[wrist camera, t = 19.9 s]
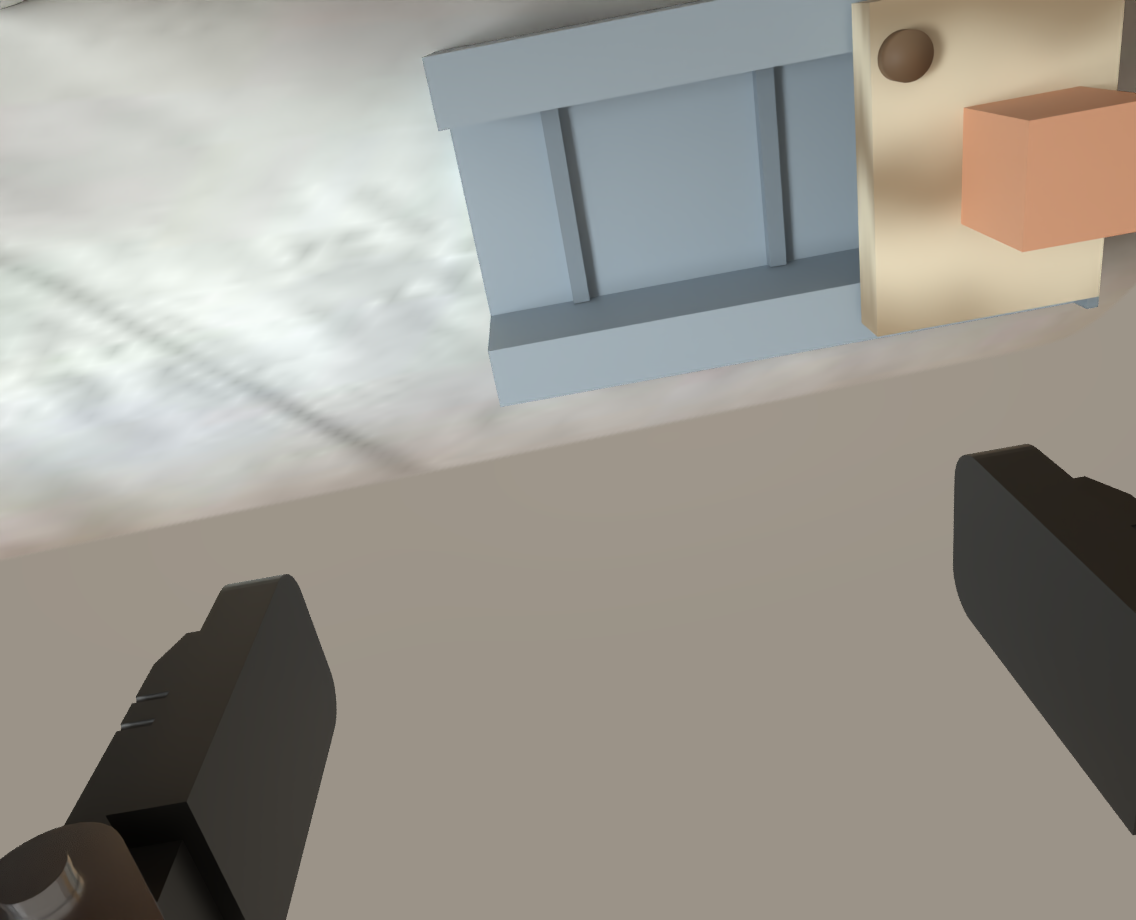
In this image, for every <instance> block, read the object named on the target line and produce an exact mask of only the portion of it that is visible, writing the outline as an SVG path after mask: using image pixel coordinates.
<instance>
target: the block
mask: <svg viewBox="0 0 1136 920" xmlns="http://www.w3.org/2000/svg"><path fill="white" fill-rule="evenodd" d="M961 224H962V225H964V226H967V227H969V228H971V229H973V230H975V231H977V232H980V233H982V234H984V235H986V236H988V237H990V238H993V239H995V240H997V241H999V242H1001V243H1003V244H1006V245H1008V246H1010V247H1012V248H1014V249H1016V250H1019V251H1021V252H1027V251H1032V250H1038V249H1044V248H1049V247H1055V246H1060V245H1066V244H1071V243H1077V242H1083V241H1088V240H1094V239H1099V238H1105V237H1110V236H1116V235H1121V234H1127V233H1133V232H1136V93H1132V92H1124V91H1116V90H1108V89H1099V88H1091V87H1083V86H1078V87H1073V88H1068V89H1062V90H1057V91H1051V92H1046V93H1041V94H1035V95H1030V96H1024V97H1019V98H1013V99H1008V100H1003V101H997V102H992V103H986V104H981V105H975V106H970V107H965V108H964V113H963V158H962V202H961Z"/></svg>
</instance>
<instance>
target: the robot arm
mask: <svg viewBox="0 0 1136 920" xmlns="http://www.w3.org/2000/svg"><path fill="white" fill-rule="evenodd" d="M22 1H24V0H0V9H3V8H6V7H9V6H11V5H14V4H17V3H20V2H22ZM953 572H954V579H955V585H956V589H957V592H958V596H959V599H960V601H961V604H962V606H963V608H964V610H965V612H966V614H967V616H968V618H969V619H970V620H971V622H972V623H973V624H974V626H975V627H976V629H977V630H978V631H979V632H980V634H981V635H982V636H983V638H984V639H985V640H986V642H987V643H988V644H989V646H990V647H991V648H992V650H993V651H994V652H995V654H996V655H997V656H998V658H999V659H1000V660H1001V662H1002V663H1003V664H1004V666H1005V667H1006V668H1007V669H1008V671H1009V672H1010V673H1011V675H1012V676H1013V677H1014V679H1015V680H1016V681H1017V683H1018V684H1019V685H1020V687H1021V688H1022V689H1023V691H1024V692H1025V693H1026V695H1027V696H1028V697H1029V699H1030V700H1031V701H1032V703H1033V704H1034V705H1035V706H1036V708H1037V709H1038V711H1040V713H1041V714H1042V716H1043V717H1044V718H1045V720H1046V721H1047V722H1048V724H1049V725H1050V726H1051V728H1052V729H1053V730H1054V732H1055V733H1056V734H1057V736H1058V737H1059V738H1060V740H1061V741H1062V742H1063V744H1064V745H1065V746H1066V748H1067V749H1068V750H1069V752H1070V753H1071V754H1072V755H1073V757H1074V758H1075V759H1076V761H1077V762H1078V763H1079V765H1080V766H1081V767H1082V769H1083V770H1084V771H1085V773H1086V774H1087V775H1088V777H1089V778H1090V779H1091V780H1092V782H1093V783H1094V784H1095V786H1096V787H1097V789H1098V790H1099V791H1100V793H1101V794H1102V795H1103V797H1104V798H1105V799H1106V800H1107V802H1108V803H1109V804H1110V806H1111V807H1112V808H1113V810H1114V811H1115V812H1116V814H1117V815H1118V816H1119V818H1120V819H1121V820H1122V822H1123V823H1124V824H1125V826H1126V827H1127V828H1128V830H1129V831H1130V832H1131V833H1132V835H1136V498H1134V497H1133V496H1132V495H1130V494H1128V493H1126V492H1123V491H1121V490H1118V489H1115V488H1113V487H1110V486H1108V485H1105V484H1103V483H1100V482H1098V481H1095V480H1093V479H1090V478H1088V477H1085V476H1084V477H1079V478H1072V477H1071V476H1070V475H1069V474H1067V473H1066V472H1065V471H1064V470H1063V469H1061V468H1060V467H1059V466H1058V465H1057V464H1055V463H1054V462H1053V461H1052V460H1050V459H1049V458H1048V457H1047V456H1046V455H1044V454H1043V453H1042V452H1041V451H1040V450H1038V449H1037V448H1036V447H1034V446H1032V445H1029V444H1023V445H1018V446H1012V447H1007V448H1001V449H995V450H990V451H984V452H978V453H973V454H967V455H964V456H962V457H961V458H959V460H958V462H957V465H956V469H955V487H954V543H953ZM136 699H137V702H136V703H133V704H132V705H131V707H130V708H129V710H128V712H127V714H126V715H125V717H124V719H123V721H122V723H121V731H117V732H116V733H115V735H114V737H113V739H112V741H111V742H110V744H109V746H108V748H107V750H106V752H105V753H104V755H103V757H102V758H101V761H100V762H99V764H98V766H97V767H96V769H95V771H94V773H93V775H92V776H91V778H90V780H89V782H88V784H87V785H86V787H85V789H84V791H83V793H82V794H81V796H80V798H79V800H78V801H77V803H76V805H75V807H74V809H73V810H72V812H71V814H70V816H69V818H68V819H67V821H66V823H65V825H64V826H62V827H59V828H55V829H52V830H50V831H47V832H45V833H43V834H40V835H38V836H36V837H34V838H33V839H31V840H29V841H27V842H25V843H23V844H22V845H20V846H19V847H17V848H15V849H14V850H12V851H11V852H9V853H8V854H7V855H5V856H4V857H3V858H1V859H0V920H286V917H287V913H288V909H289V905H290V901H291V897H292V893H293V890H294V886H295V882H296V878H297V874H298V870H299V866H300V862H301V858H302V854H303V850H304V846H305V842H306V838H307V835H308V831H309V827H310V823H311V819H312V815H313V810H314V807H315V803H316V799H317V795H318V791H319V787H320V783H321V779H322V775H323V771H324V768H325V764H326V760H327V755H328V752H329V748H330V744H331V740H332V736H333V732H334V728H335V723H336V694H335V687H334V682H333V678H332V675H331V672H330V669H329V666H328V663H327V661H326V658H325V655H324V652H323V650H322V647H321V644H320V642H319V639H318V636H317V634H316V631H315V628H314V625H313V622H312V620H311V617H310V615H309V612H308V609H307V606H306V603H305V601H304V598H303V595H302V593H301V590H300V588H299V586H298V584H297V582H296V581H295V579H294V578H293V577H292V576H290V575H289V574H284V575H279V576H273V577H267V578H262V579H256V580H251V581H245V582H239V583H234V584H228V585H226V586H224V587H223V588H222V590H221V591H220V593H219V595H218V597H217V599H216V601H215V603H214V605H213V607H212V609H211V611H210V613H209V615H208V617H207V618H206V621H205V622H204V624H203V626H202V628H201V630H200V631H197V632H191V633H187V634H185V636H183V637H182V638H181V640H179V641H178V642H177V643H176V644H175V645H174V646H173V647H172V648H171V649H170V650H169V651H168V652H167V653H165V654H164V655H163V657H161V658H160V659H159V660H158V661H157V662H156V663H155V664H154V666H153V667H152V669H151V671H150V673H149V674H148V676H147V678H146V680H145V681H144V683H143V685H142V687H141V689H140V690H139V692H138V694H137V696H136Z"/></svg>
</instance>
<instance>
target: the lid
mask: <svg viewBox="0 0 1136 920" xmlns="http://www.w3.org/2000/svg"><path fill="white" fill-rule="evenodd" d="M1124 6H1125V0H867V1H862V2H857V3H852V4H851V8H852V39H853V71H854V102H855V134H856V165H857V197H858V228H859V260H860V291H861V323H862V324H863V325H865V326H866V327H867V328H868V329H869V330H870V331H871V332H873V333H874V334H875V335H876V336H877V337H879V336H885V335H890V334H896V333H901V332H907V331H912V330H918V329H923V328H929V327H934V326H940V325H945V324H951V323H956V322H962V321H967V320H973V319H978V318H983V317H989V316H994V315H1000V314H1005V313H1011V312H1016V311H1022V310H1027V309H1033V308H1038V307H1044V306H1049V305H1055V304H1060V303H1066V302H1071V301H1077V300H1082V299H1088V298H1093V297H1099V290H1100V279H1101V268H1102V256H1103V245H1104V238H1099V239H1094V240H1088V241H1083V242H1077V243H1071V244H1066V245H1060V246H1055V247H1049V248H1044V249H1038V250H1032V251H1027V252H1021V251H1019V250H1016V249H1014V248H1012V247H1010V246H1008V245H1006V244H1003V243H1001V242H999V241H997V240H995V239H993V238H990V237H988V236H986V235H984V234H982V233H980V232H977V231H975V230H973V229H971V228H969V227H967V226H964V225H962V224H961V202H962V158H963V113H964V108H965V107H970V106H975V105H981V104H986V103H992V102H997V101H1003V100H1008V99H1013V98H1019V97H1024V96H1030V95H1035V94H1041V93H1046V92H1051V91H1057V90H1062V89H1068V88H1073V87H1078V86H1083V87H1091V88H1099V89H1108V90H1116V91H1117V86H1118V75H1119V63H1120V52H1121V40H1122V29H1123V18H1124Z"/></svg>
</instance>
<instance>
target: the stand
mask: <svg viewBox="0 0 1136 920" xmlns="http://www.w3.org/2000/svg"><path fill="white" fill-rule="evenodd" d="M862 1H867V0H701V1H695V2H690V3H685V4H680V5H675V6H670V7H665V8H659V9H654V10H649V11H644V12H639V13H634V14H628V15H623V16H618V17H613V18H608V19H603V20H598V21H592V22H587V23H582V24H577V25H572V26H567V27H562V28H556V29H551V30H546V31H541V32H536V33H531V34H525V35H520V36H515V37H510V38H505V39H500V40H495V41H489V42H484V43H479V44H474V45H469V46H464V47H458V48H453V49H448V50H443V51H438V52H434V53H432V54H429V55H427V56H425V57H422V60H423V64H424V69H425V73H426V78H427V82H428V87H429V91H430V96H431V100H432V104H433V109H434V113H435V118H436V122H437V127H438V131H442V130H447V129H450V132H451V136H452V141H453V145H454V150H455V155H456V159H457V164H458V168H459V173H460V177H461V182H462V186H463V191H464V196H465V200H466V205H467V209H468V214H469V218H470V223H471V227H472V232H473V237H474V241H475V246H476V250H477V255H478V259H479V264H480V268H481V273H482V278H483V282H484V287H485V291H486V296H487V300H488V305H489V309H490V314H491V322H490V334H489V346H488V353H489V358H490V362H491V367H492V371H493V375H494V380H495V384H496V389H497V393H498V398H499V402H500V407H504V406H509V405H515V404H520V403H526V402H531V401H537V400H542V399H548V398H553V397H559V396H564V395H570V394H575V393H581V392H586V391H592V390H597V389H602V388H608V387H613V386H619V385H624V384H630V383H635V382H641V381H646V380H652V379H657V378H663V377H668V376H674V375H679V374H685V373H690V372H696V371H701V370H707V369H712V368H718V367H723V366H729V365H734V364H740V363H745V362H751V361H756V360H762V359H767V358H773V357H778V356H784V355H789V354H795V353H800V352H806V351H811V350H816V349H822V348H827V347H833V346H838V345H844V344H849V343H855V342H860V341H866V340H871V339H877V338H882V337H888V336H893V335H899V334H904V333H910V332H915V331H921V330H926V329H932V328H937V327H943V326H948V325H954V324H959V323H965V322H970V321H976V320H981V319H987V318H992V317H998V316H1003V315H1009V314H1014V313H1019V312H1025V311H1030V310H1036V309H1041V308H1047V307H1052V306H1058V305H1063V304H1069V303H1076V304H1078V305H1080V306H1082V307H1084V308H1086V309H1089V308H1094V307H1098V300H1099V297H1093V298H1088V299H1082V300H1077V301H1071V302H1066V303H1060V304H1055V305H1049V306H1044V307H1038V308H1033V309H1027V310H1022V311H1016V312H1011V313H1005V314H1000V315H994V316H989V317H983V318H978V319H973V320H967V321H962V322H956V323H951V324H945V325H940V326H934V327H929V328H923V329H918V330H912V331H907V332H901V333H896V334H890V335H885V336H879V337H877V336H876V335H875V334H874V333H873V332H871V331H870V330H869V329H868V328H867V327H866V326H865V325H863V324H862V323H861V291H860V260H859V228H858V197H857V165H856V134H855V102H854V71H853V39H852V8H851V4H852V3H857V2H862Z"/></svg>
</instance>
